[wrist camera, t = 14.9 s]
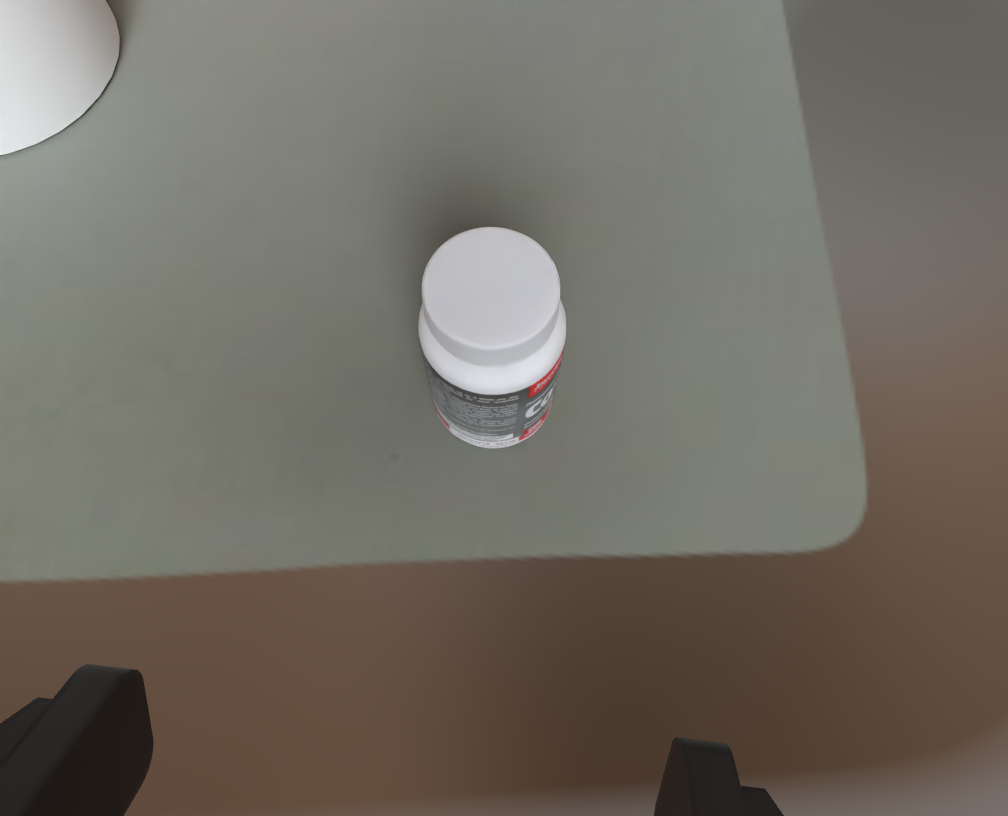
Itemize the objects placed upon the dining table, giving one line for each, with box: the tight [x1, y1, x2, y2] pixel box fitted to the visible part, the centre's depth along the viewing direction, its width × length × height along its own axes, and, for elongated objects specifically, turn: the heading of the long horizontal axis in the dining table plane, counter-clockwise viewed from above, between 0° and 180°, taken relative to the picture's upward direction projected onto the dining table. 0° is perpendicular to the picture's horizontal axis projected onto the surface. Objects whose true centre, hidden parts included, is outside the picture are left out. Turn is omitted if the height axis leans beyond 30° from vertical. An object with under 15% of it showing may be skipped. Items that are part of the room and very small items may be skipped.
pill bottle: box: [418, 227, 566, 448], centre depth 24 cm, size 5×5×8 cm
